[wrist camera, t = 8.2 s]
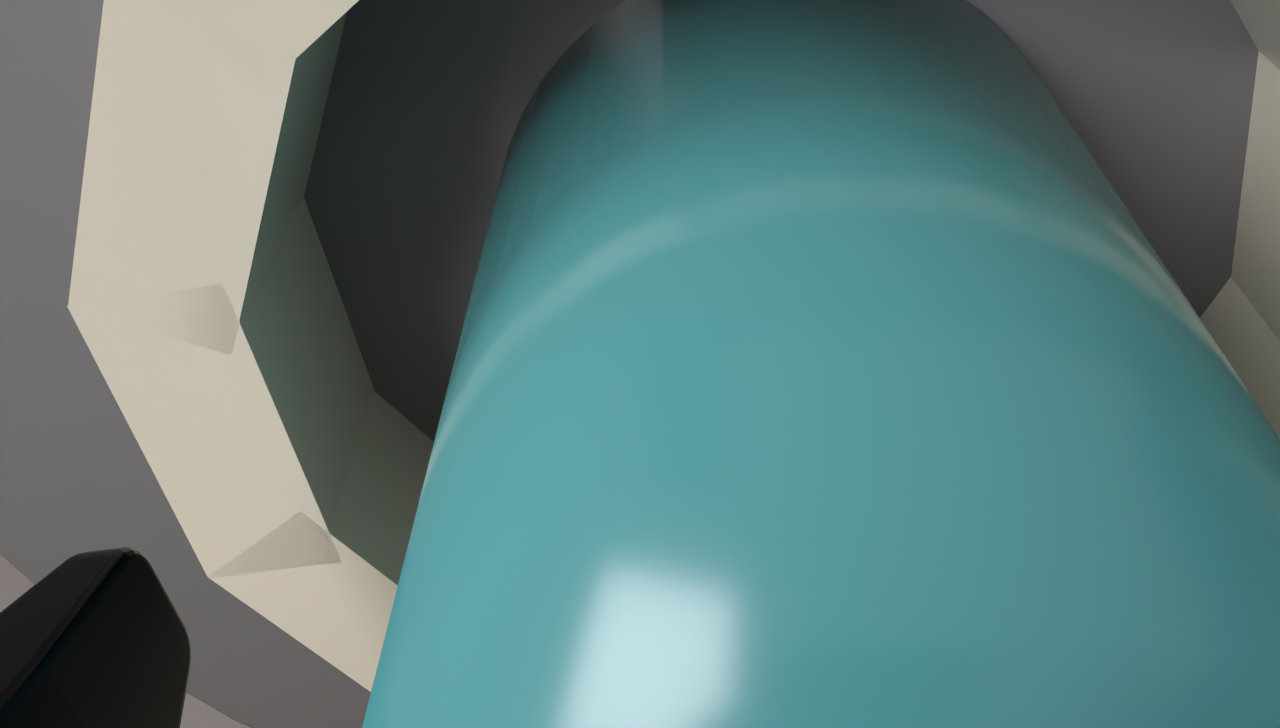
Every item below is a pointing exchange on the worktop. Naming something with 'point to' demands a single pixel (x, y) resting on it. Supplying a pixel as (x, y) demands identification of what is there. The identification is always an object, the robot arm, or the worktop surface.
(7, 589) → the worktop surface
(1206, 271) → the round tray
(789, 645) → the teal rounded cylinder
